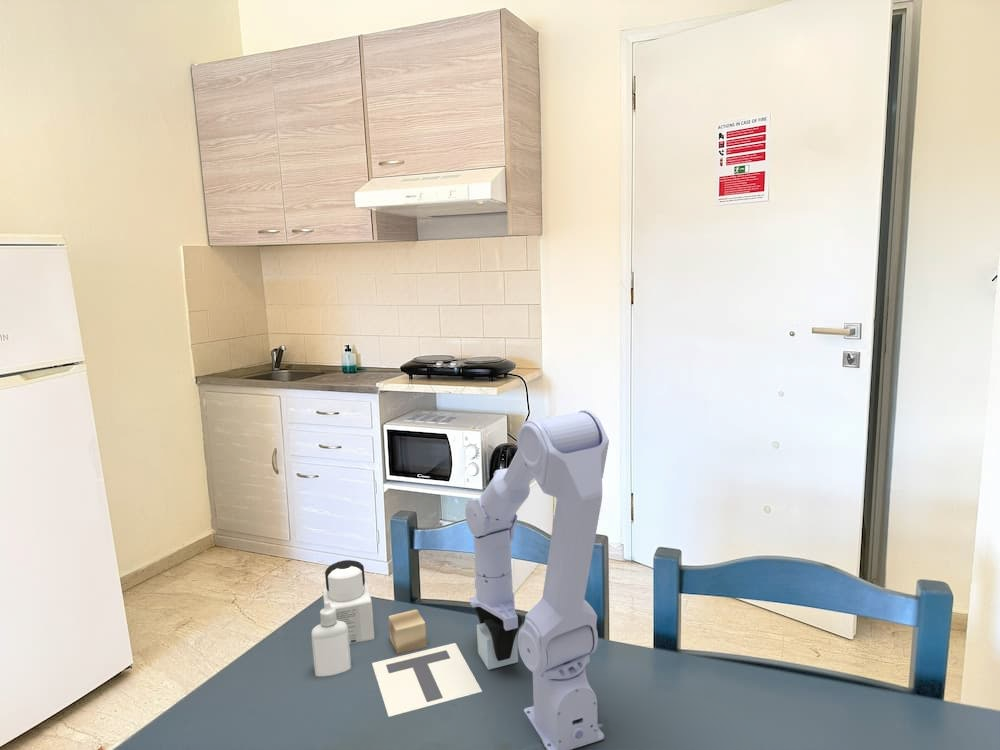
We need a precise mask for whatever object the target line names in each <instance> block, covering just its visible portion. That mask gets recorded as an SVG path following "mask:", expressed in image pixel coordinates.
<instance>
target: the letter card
mask: <svg viewBox="0 0 1000 750" xmlns="http://www.w3.org/2000/svg"><path fill="white" fill-rule="evenodd" d="M460 650H461V649H459V647H458V645H457V643H456V642H454V643H448V644H445V645H441V646H437V647H432V648H428V649H425V650H420V651H416V652H412V653H409V654H405V655H399V656H395V657H392V658H388V659H387V658H386V659H383V660H378V661H376V662H375V661H374V662H371V664H372V668H373V671H374V674H375V675H374V676H375V678H376V680H377V684H378V687H379V691H380V694H381V696H382V700H383V703H384V707H385V709H386V713H387V717H389V718H390V717H394V716H397V715H401V714H404V713H408V712H411V711H417V710H419V709H423V708H427V707H431V706H434V705H437V704H441V703H445V702H449V701H452V700H456V699H459V698H463V697H467V696H472V695H474V694H478V693H483V690H482V688H481V686H480V685H479V683H478V681H477V680H476V678H475V675H474V674H473V672H472V670H471V669H470V667H469V664H468V663H467V661H466V660H465V658H464V656H463V654H462V653H461V651H460Z"/></svg>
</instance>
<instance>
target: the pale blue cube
mask: <svg viewBox="0 0 1000 750" xmlns="http://www.w3.org/2000/svg"><path fill="white" fill-rule="evenodd" d="M476 637H477V638H476V639H477V653H478V656H479V657H480V659H481V660H482V661H483V663H484V666H485V667H486V669H487V670H488V671H490V670H492V669H497V668H501V667H504V666H508V665H513V664H516V663H519V654H518V653H519V649H518V633H517V634H516V636H515V639H514V643H513V648H512V653H511V657H510V658H509V659H505V660H502V661H498V660H497V658H496V655H495V651H494V646H493V641H492V637H491V634H490V631H489V629H488V627H487V626H486V624H485V623H482V624H480V623H478V624H476Z"/></svg>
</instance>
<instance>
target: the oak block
mask: <svg viewBox="0 0 1000 750" xmlns="http://www.w3.org/2000/svg"><path fill="white" fill-rule="evenodd" d="M388 626H389V640H390V641H391V643H392V646H393V648H394V650H395V652H396V655H401V654H405V653H407V652H408V653H409V652H412V651H416V650H419V649H423V648H427V647H428V646H427V645H428V643H427V630H426V628H427V627H426V622H425V620H424V619H423V617H422V615H421V613H420V612H419V610H418V609H412V610H408V611H404V612H400V613H396V614H392V615H389V616H388Z"/></svg>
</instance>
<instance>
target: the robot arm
mask: <svg viewBox="0 0 1000 750" xmlns="http://www.w3.org/2000/svg"><path fill="white" fill-rule="evenodd" d="M516 445H517V450H516V452H515V454H514V456H513V458H512V460H511V462H510V464H509V466H508V467H506V468H501V469H496V470H495V471H494V473H493V477H492V479H491V480H490V482H489V483H488V485H487V486H486V487H485V489H484V491H483V492H482V494H481V495H480V497H477V498H476V497H471V498H469V499H468V500H467V502H466V504H465V505H466V506H465V521H466V523H467V524H466V525H467V527H468V529H469V531H470V532H471V534H472V535H473V551H474V565H475V566H474V567H475V577H474V588H475V596H473V597H470V598H469V604H470V606H471V607H472V608H474V611H475V612H476V615H477V618H478V621H479V624H482V623H485V624H486V626H487V627H488V629H489V631H490V634H491V637H492V641H493V646H494V651H495V655H496V658H497V660H498V661H502V660H505V659H509V658H510V657H511V653H512V648H513V643H514V639H515V636H516V634H517V648H518V653H519V655H520V658H521V660H522V662H523V664H524V665H525V667H526V668H527V669H528V670H529V671H530V672H532V690H533V691H532V693H533V694H532V695H533V697H532V698H533V705H532V706H528V707H525V708H523V712H524V713H525V715H526V716H527V717H528V719H529V721H530V723H531V724H532V726H533V727H534V729H535V731H536V732H537V734H538V736H539V737H540V739H541V740H542V741H541V743H542V744H543V746H544V748H545V749H546V750H573V749H577V748H581V747H584V746H587V745H589V744H593V743H597V742H600V741H602V740H604V739H605V734H604V733H603V732H602V730H601V729H600V727H599V725H598V723H599V722H598V698H597V695H596V693H595V691H594V690H593V689H592V687H591V686H590V683H589V681H588V677H587V674H586V665H588V664H589V663H590V661H591V660H590V658H591V655H590V654H593V653H594V652H596V650H597V647H598V644H599V643H598V642H599V635H598V630H597V629H598V628H597V620H598V615H597V613H596V611H595V610H594V608H593V607H592V606H591V604H590V603H589V602H588V601H587V600H586V599H585V597H586V592H587V587H588V580H589V574H590V571H591V569H590V567H591V563H592V558H593V554H594V546H595V541H596V535H597V529H598V524H599V520H600V519H599V518H600V514H601V513H600V512H601V508H602V507H601V506H602V500H603V479H604V472H605V467H606V460H607V456H608V455H607V454H608V449H609V445H610V440H609V438H608V436H607V433H606V431H605V428H604V426H603V424H602V422H601V421H600V419H599V417H598V416H597V415H596V414H595V413H594V412H592V411H591V410H588V409H587V410H586V409H583V410H580V411H578V412H574V413H568V414H563V415H558V416H552V417H546V418H541V419H528V420H526V421H524V422H523V423H522V425H521V426H520V429H519V431H518V432H517V433H516ZM534 479H535V481H536V482H537V484H538V486H539V488H540V489H541V491H542V492H543V494H545V495H547V496H551V497H554V498H555V499H556V501H555V509H554V515H553V522H552V530H551V537H550V543H549V551H548V557H547V563H546V570H545V577H544V583H543V585H544V586H543V591H542V597H541V599H540V600H539V601H538V602H537V603H536V604H535V605H534V606H533V607H531V609H530V610H529V611H528V612H527V613H526V614H525V617H524V618H525V619H524V622H523V618H522V617H521V616H520V614H517V613H516V603H515V594H514V591H513V589H514V588H513V568H512V567H513V565H512V547H511V546H512V545H511V541H513V540H514V538H515V528H516V526H517V523H518V514H517V512H518V510H519V509H520V508H521V506H522V505H523V504H524V503H525V502H526V500H527V499H528V498H529V495H530V491H531V486H530V482H532V480H534ZM528 712H529V713H528Z"/></svg>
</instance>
